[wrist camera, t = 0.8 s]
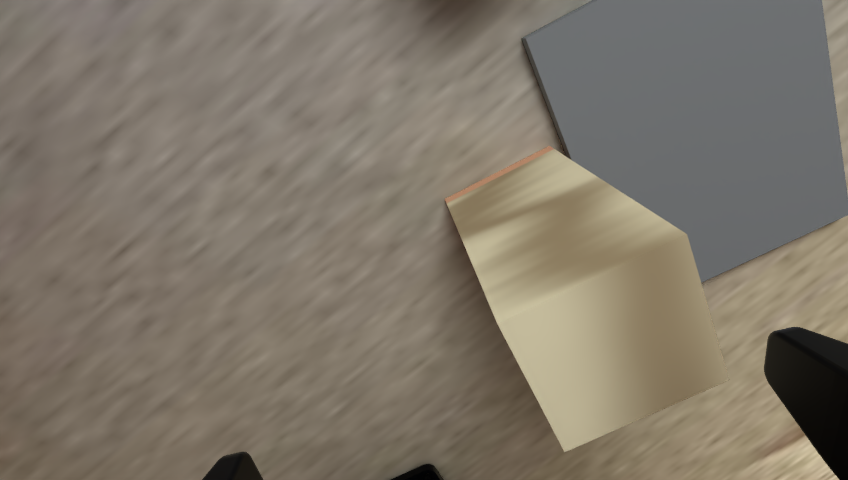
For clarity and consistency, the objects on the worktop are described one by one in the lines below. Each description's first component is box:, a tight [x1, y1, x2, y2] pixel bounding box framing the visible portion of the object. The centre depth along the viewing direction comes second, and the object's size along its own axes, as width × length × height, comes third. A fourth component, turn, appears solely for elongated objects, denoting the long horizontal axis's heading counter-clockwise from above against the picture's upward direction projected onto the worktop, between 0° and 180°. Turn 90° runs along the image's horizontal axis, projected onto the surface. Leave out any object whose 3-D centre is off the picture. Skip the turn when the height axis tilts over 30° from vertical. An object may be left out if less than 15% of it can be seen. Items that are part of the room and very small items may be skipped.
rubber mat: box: [521, 0, 848, 283], centre depth 21 cm, size 11×14×1 cm
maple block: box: [445, 146, 730, 452], centre depth 17 cm, size 5×5×10 cm
